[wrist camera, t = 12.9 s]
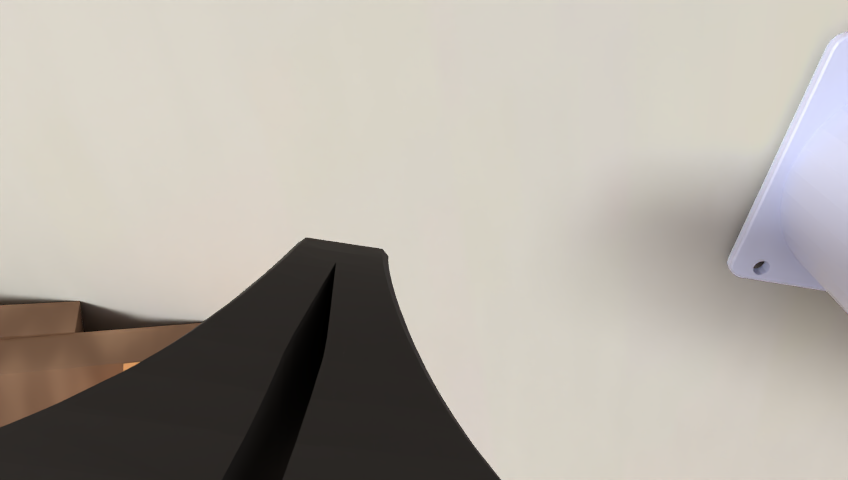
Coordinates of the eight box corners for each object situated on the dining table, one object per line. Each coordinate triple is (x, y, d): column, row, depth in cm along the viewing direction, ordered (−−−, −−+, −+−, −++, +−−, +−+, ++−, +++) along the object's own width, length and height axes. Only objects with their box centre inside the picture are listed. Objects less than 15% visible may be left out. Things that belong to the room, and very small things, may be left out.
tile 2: (221, 353, 22) (-36, 378, 20) (221, 453, 25) (-7, 487, 22) (218, 321, 24) (-23, 340, 21) (218, 419, 26) (4, 447, 23)
